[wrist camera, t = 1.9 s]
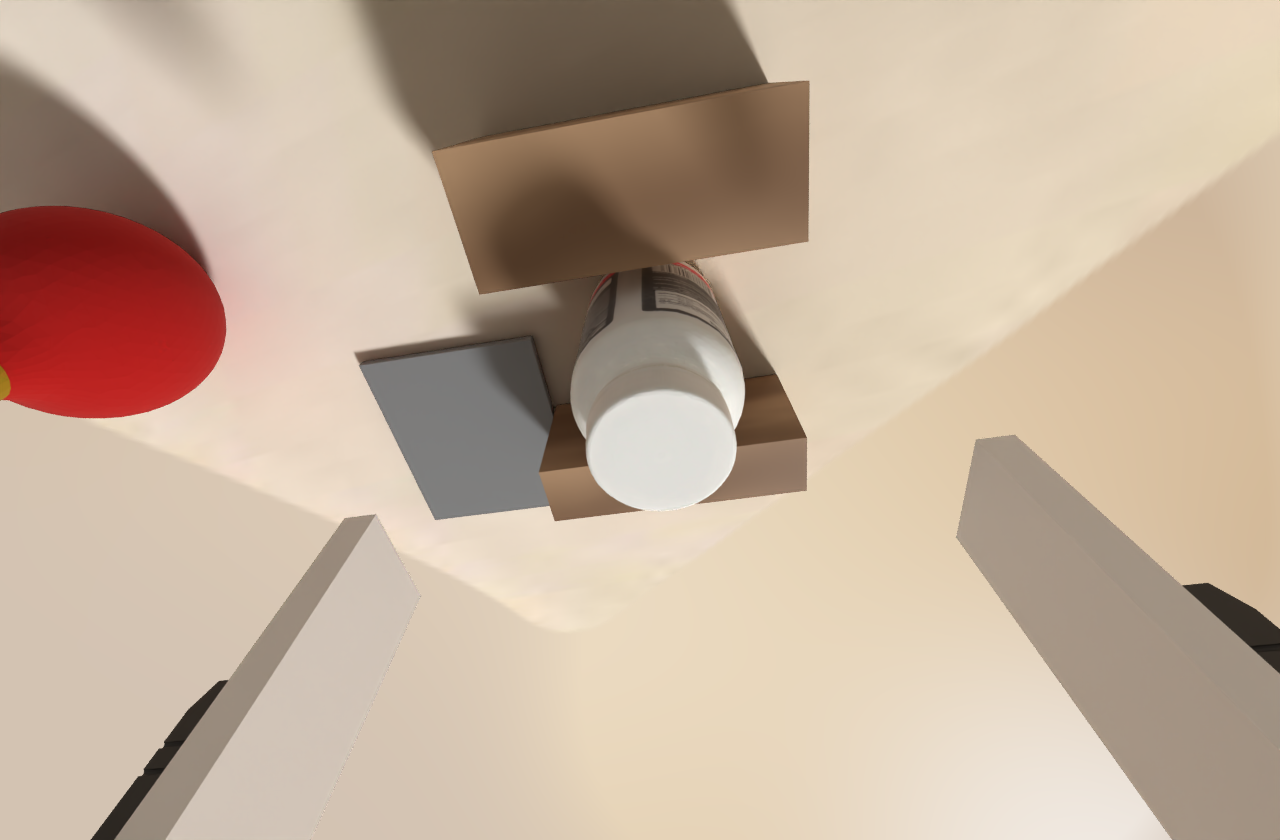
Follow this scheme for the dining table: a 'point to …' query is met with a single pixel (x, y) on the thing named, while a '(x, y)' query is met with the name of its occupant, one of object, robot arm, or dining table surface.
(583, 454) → the block
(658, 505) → the pill bottle
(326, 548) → the robot arm
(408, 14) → the dining table surface
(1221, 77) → the dining table surface
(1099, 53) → the dining table surface
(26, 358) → the christmas ornament
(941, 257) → the dining table surface
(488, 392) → the pad
